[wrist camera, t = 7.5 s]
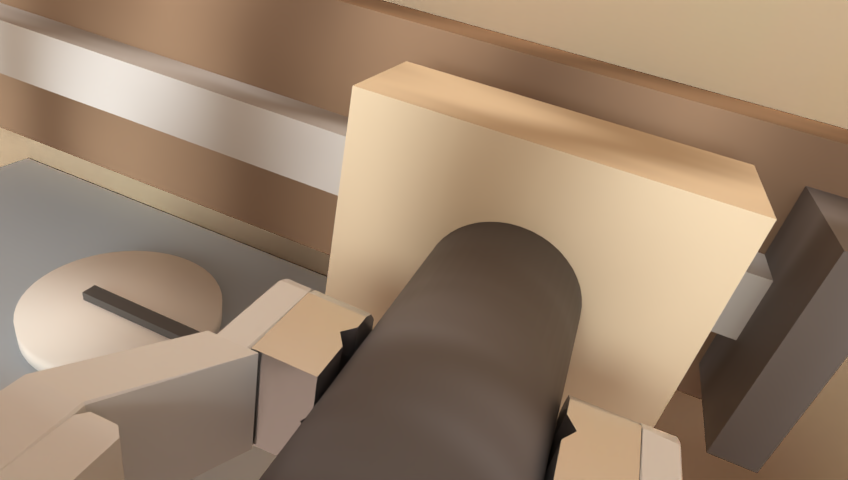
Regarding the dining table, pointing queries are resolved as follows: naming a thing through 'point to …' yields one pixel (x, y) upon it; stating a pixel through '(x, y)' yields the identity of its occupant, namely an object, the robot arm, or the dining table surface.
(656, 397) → the carriage
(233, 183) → the rail
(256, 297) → the gauge cabinet
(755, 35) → the dining table surface
